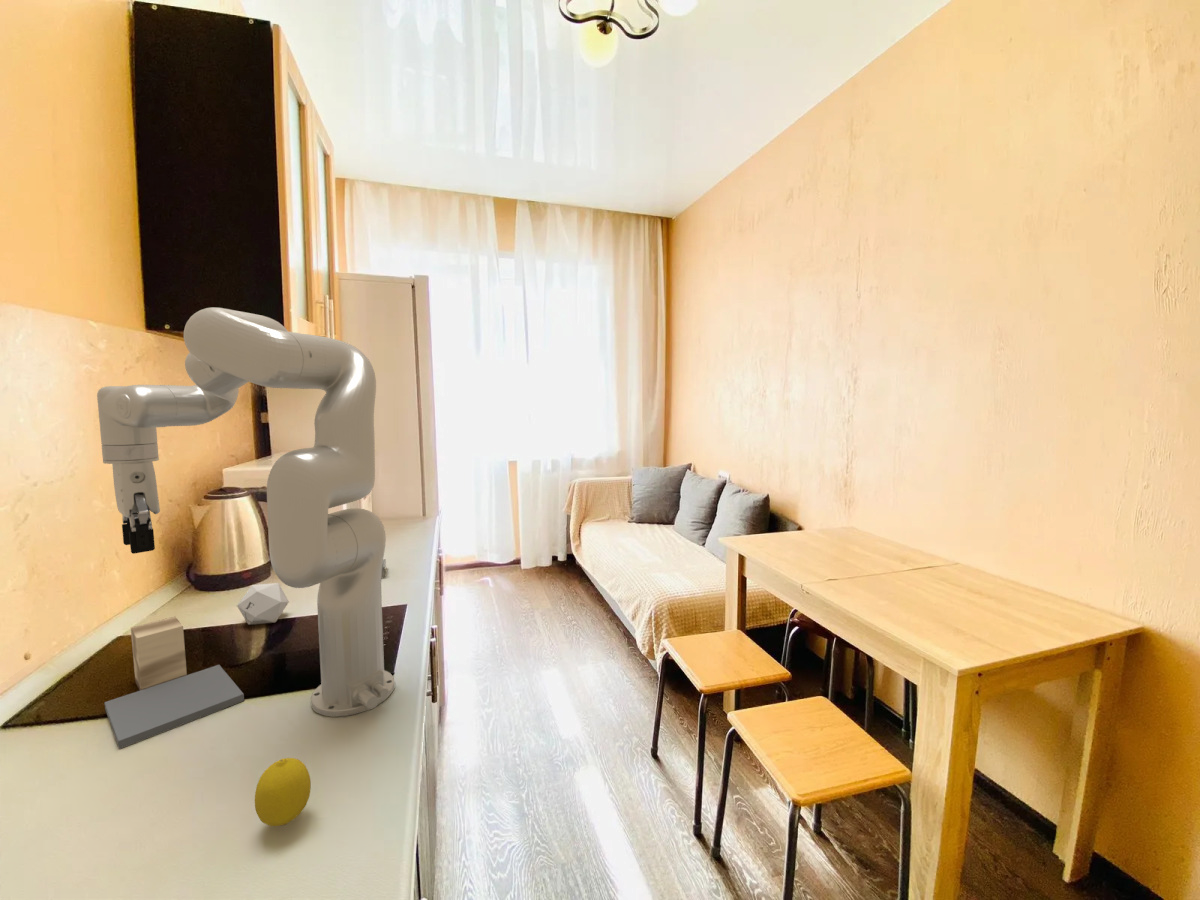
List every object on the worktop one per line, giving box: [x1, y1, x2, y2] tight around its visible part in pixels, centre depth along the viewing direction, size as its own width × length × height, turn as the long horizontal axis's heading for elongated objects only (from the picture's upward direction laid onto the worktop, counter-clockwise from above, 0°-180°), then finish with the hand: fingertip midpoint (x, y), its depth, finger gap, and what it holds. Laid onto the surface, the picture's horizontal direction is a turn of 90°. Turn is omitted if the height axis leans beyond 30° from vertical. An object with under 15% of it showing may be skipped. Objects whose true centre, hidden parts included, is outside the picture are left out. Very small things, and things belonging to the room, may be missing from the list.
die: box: [236, 582, 290, 626], centre depth 112 cm, size 8×9×10 cm
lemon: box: [254, 757, 312, 827], centre depth 58 cm, size 6×6×8 cm
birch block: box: [130, 615, 188, 691], centre depth 88 cm, size 6×6×10 cm
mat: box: [104, 664, 245, 750], centre depth 81 cm, size 14×15×1 cm
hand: (139, 546), depth 94 cm, fingers open, 7 cm apart
